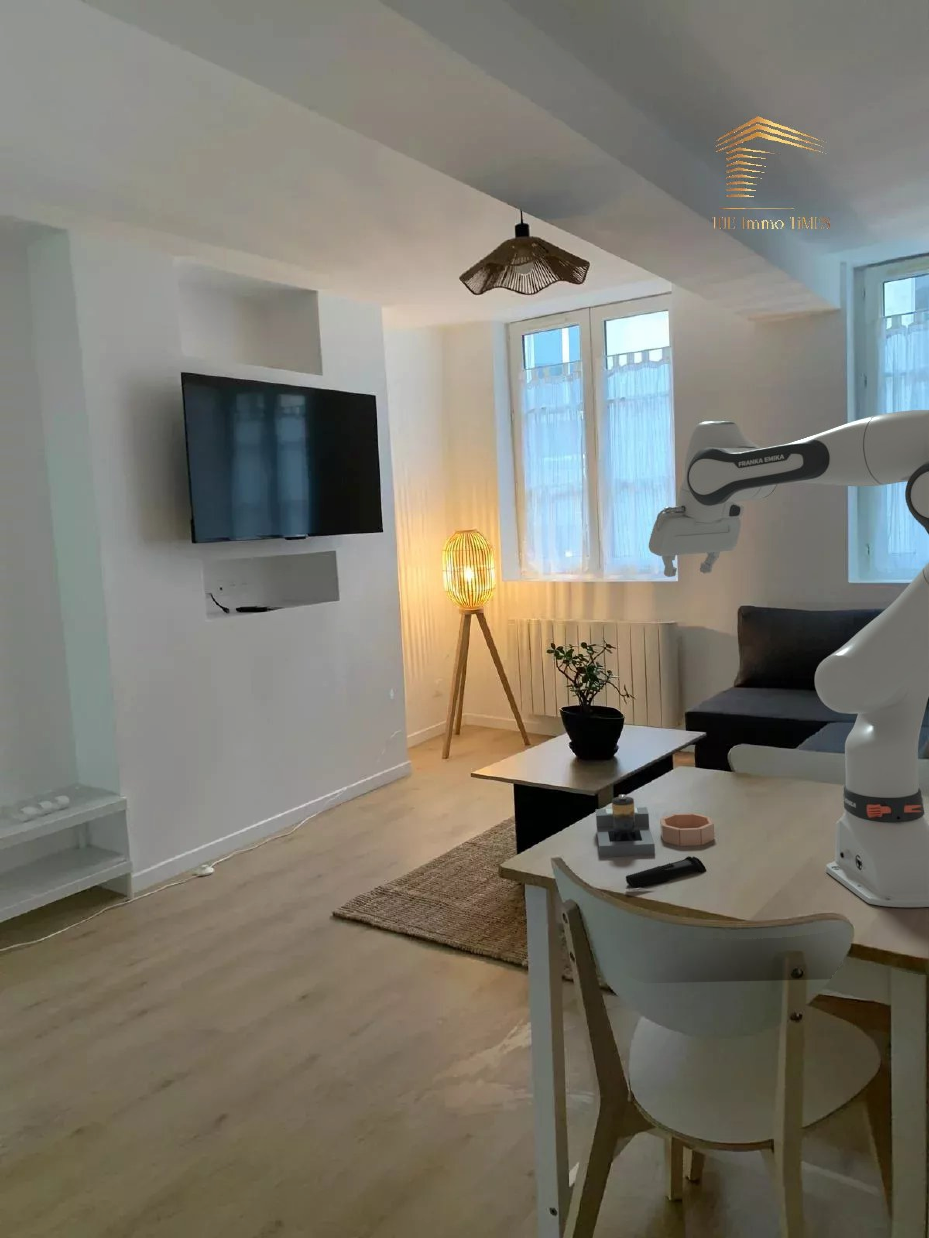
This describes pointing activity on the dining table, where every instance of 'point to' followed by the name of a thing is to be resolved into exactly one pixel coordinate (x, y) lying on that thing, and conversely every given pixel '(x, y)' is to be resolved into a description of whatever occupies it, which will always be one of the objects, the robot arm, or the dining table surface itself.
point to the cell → (623, 818)
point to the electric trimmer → (665, 872)
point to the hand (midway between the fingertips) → (687, 574)
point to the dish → (687, 829)
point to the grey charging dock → (624, 848)
